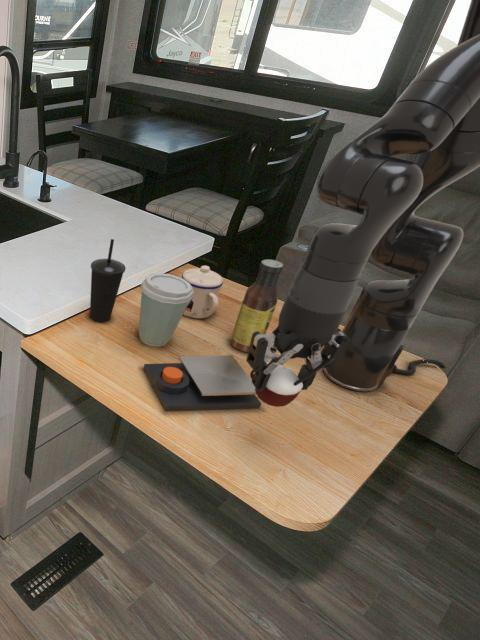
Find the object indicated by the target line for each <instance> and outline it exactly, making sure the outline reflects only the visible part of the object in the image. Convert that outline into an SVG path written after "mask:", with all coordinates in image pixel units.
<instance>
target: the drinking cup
mask: <svg viewBox="0 0 480 640" xmlns="http://www.w3.org/2000/svg"><path fill="white" fill-rule="evenodd" d="M109 242H110V243H109V248H108V255H107V258H99V259H95V260H93V261H92V262H91V264H90V270H91V278H90V297H89V298H90V303H89V318H90V320H91V321H93V322H95V323H102V324H103V323H107V322H110V320H111V317H112V314H113V311H114V307H115V304H116V299H117V298H118V297H117V296H118V293H119V289H120V287H121V282H122V279H123V275H124V273H125V272H126V269H127V268H126V266H125V264H124V263H123V262H121V261H119V260H116V259H113V258H112V255H113V249H114V244H115V243H114V242H115V239H114V238H111V239H110V241H109Z"/></svg>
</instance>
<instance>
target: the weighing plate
mask: <svg viewBox="0 0 480 640" xmlns="http://www.w3.org/2000/svg"><path fill="white" fill-rule="evenodd" d="M178 361H179V363H181V364H182V365H183V367H184V368H185V370H186V372H187V373H188V375H189V376H190V378H191V380H192V381H193V383H194V384H195V386H196V388H197V389H198V391H199V392H200V394H201V396H218V395H253V394H255V395H257V394H256V392H255V386H254V385H253V383H252V379H251V377H250V375H248V374H247V371H245V370H244V368H243V366H241V365H240V363H239V362H238V361H237V360H236V358H235V357H234V355H232V354H229V355H228V354H226V355H222V354H221V355H194V356H193V355H191V356H190V355H189V356H186V355H185V356H178Z"/></svg>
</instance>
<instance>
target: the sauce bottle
mask: <svg viewBox="0 0 480 640" xmlns="http://www.w3.org/2000/svg"><path fill="white" fill-rule="evenodd" d="M283 269H284V264H283V263H282V262H281V261H279V260H275V259H269V258H268V259H262V260H261V262H260V265H259V270H258V273H257V276H256V278H255V281H254V282H253V283H252V284H251V285H250V286H248V288H247V289H246V291H245V294H244V296H243V297H244V298H243V300H242V301H241V304H240V308H239V311H238V314H237V317H236V320H235V324H234V326H233V330H232V333H231V338H230V345H231V346H232V347H233V348H235V349H236V350H238V351H240V352H243V353H248V350H249V346H250V342H251V338H252V334H253V333H254V332H256V331H259V332H260V333H261V334H262V335H263V334H267V331H268V330H269V326H270V323H271V321H272V318H273V315H274V313H275V310H276V307H277V304H278V280H279V279H280V274H281V273H282V272H283Z"/></svg>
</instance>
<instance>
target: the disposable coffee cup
mask: <svg viewBox="0 0 480 640" xmlns="http://www.w3.org/2000/svg"><path fill="white" fill-rule="evenodd" d="M140 288H141V297H140V309H139V324H138V337H139V340H140V341H141V342H142V343H143V344H145V345H147V346H150V347H156V348H159V347H160V348H161V347H165V346H166V345H168V343H169V342H170V341H171V339H172V337H173V335H174V333H175V331H176V329H177V327H178V325H179V323H180V321H181V320H182V317H183V316H184V315H183V313H184V311H185V309H186V307H187V305H188V303H189V301H190V299H191V298H192V297H193V294H194V292H193V289H192V286H191V285H190V283H188V282H187V281H186V280H184V279H183V278H182V277H180V276H178V275H173V274H171V273H163V272H158V273H150V274H149V275H147V276H145V278H144V279H143V280H142V281H141V284H140Z"/></svg>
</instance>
